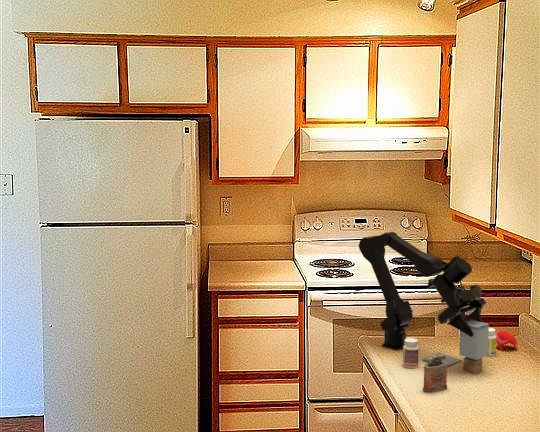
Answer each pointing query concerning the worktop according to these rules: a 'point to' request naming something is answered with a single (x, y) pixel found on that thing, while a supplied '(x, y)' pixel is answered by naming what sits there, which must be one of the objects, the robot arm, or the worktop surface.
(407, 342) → the pill bottle
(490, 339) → the supplement bottle
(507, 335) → the red plastic curved piece
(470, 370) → the block
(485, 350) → the cover
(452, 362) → the coaster
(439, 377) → the lighter
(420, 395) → the worktop surface
